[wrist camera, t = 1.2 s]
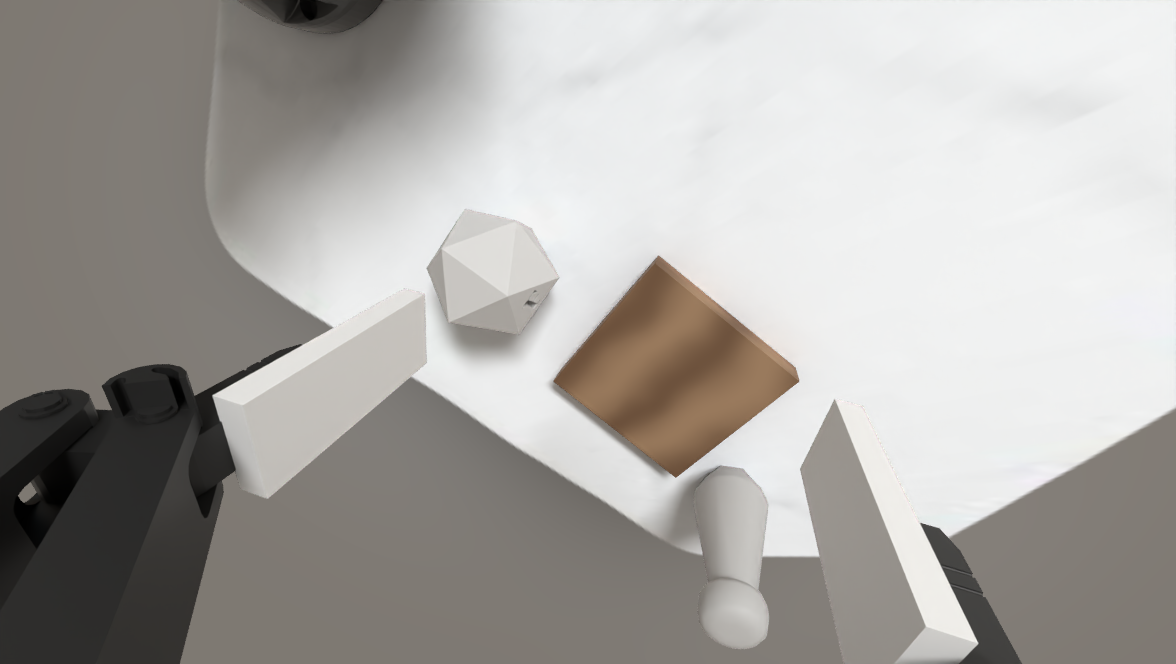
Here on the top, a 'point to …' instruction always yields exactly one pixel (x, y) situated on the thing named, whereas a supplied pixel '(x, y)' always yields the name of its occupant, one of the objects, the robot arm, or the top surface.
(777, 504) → the top surface
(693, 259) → the top surface
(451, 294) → the die
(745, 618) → the salt shaker
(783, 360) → the walnut board
